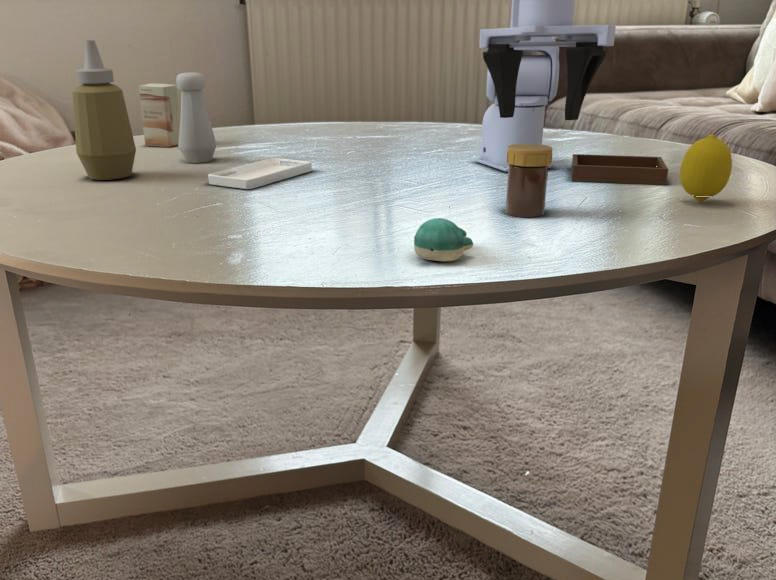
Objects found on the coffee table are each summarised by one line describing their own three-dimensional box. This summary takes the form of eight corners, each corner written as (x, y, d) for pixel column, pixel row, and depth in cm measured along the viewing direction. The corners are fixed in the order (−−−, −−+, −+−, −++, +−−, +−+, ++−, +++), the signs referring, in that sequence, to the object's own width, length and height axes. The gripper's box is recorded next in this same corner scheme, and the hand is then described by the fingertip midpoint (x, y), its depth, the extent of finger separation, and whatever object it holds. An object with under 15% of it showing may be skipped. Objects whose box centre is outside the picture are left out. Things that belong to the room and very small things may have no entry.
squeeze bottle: (122, 183, 104) (102, 41, 96) (69, 181, 105) (45, 41, 98) (149, 172, 111) (132, 39, 104) (99, 170, 113) (78, 39, 105)
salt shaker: (221, 157, 122) (214, 71, 117) (211, 164, 117) (203, 74, 111) (186, 157, 123) (177, 71, 117) (174, 163, 117) (164, 74, 112)
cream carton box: (144, 146, 133) (136, 85, 128) (157, 142, 136) (150, 83, 132) (170, 147, 131) (163, 86, 127) (183, 143, 135) (176, 83, 131)
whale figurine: (401, 261, 71) (401, 221, 70) (427, 241, 77) (428, 203, 76) (460, 268, 69) (462, 227, 67) (482, 247, 75) (485, 209, 74)
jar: (498, 210, 89) (502, 150, 86) (530, 206, 90) (535, 147, 87) (518, 219, 85) (523, 156, 82) (551, 215, 87) (557, 153, 84)
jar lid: (498, 160, 87) (499, 145, 86) (535, 157, 88) (536, 142, 87) (521, 168, 82) (522, 152, 82) (560, 164, 84) (561, 149, 83)
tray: (571, 181, 104) (573, 165, 103) (571, 168, 112) (573, 154, 111) (665, 185, 101) (668, 169, 100) (658, 171, 109) (661, 156, 108)
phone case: (249, 190, 100) (314, 170, 111) (248, 179, 99) (313, 161, 111) (206, 184, 103) (274, 166, 115) (205, 174, 103) (273, 157, 114)
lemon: (694, 209, 88) (707, 139, 85) (665, 199, 93) (676, 132, 90) (734, 206, 90) (748, 136, 86) (704, 196, 95) (716, 130, 91)
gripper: (468, -18, 80) (462, 118, 84) (603, -28, 72) (588, 122, 76) (499, -12, 85) (491, 115, 90) (628, -21, 77) (612, 119, 82)
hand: (538, 118), depth 83 cm, fingers open, 7 cm apart
